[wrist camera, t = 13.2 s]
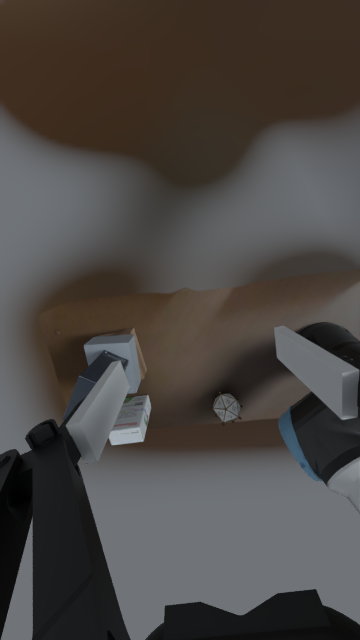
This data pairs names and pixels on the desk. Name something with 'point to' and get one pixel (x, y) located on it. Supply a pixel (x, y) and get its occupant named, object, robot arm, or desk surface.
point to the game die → (226, 407)
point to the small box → (92, 378)
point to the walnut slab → (139, 354)
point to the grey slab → (119, 347)
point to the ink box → (131, 421)
